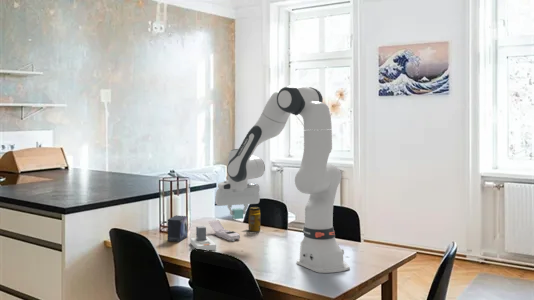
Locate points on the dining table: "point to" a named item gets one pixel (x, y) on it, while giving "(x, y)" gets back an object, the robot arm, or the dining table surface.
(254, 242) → the dining table surface
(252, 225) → the condiment
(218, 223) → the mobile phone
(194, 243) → the power strip
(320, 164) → the robot arm
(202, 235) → the block
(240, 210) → the teal cube
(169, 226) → the small box
